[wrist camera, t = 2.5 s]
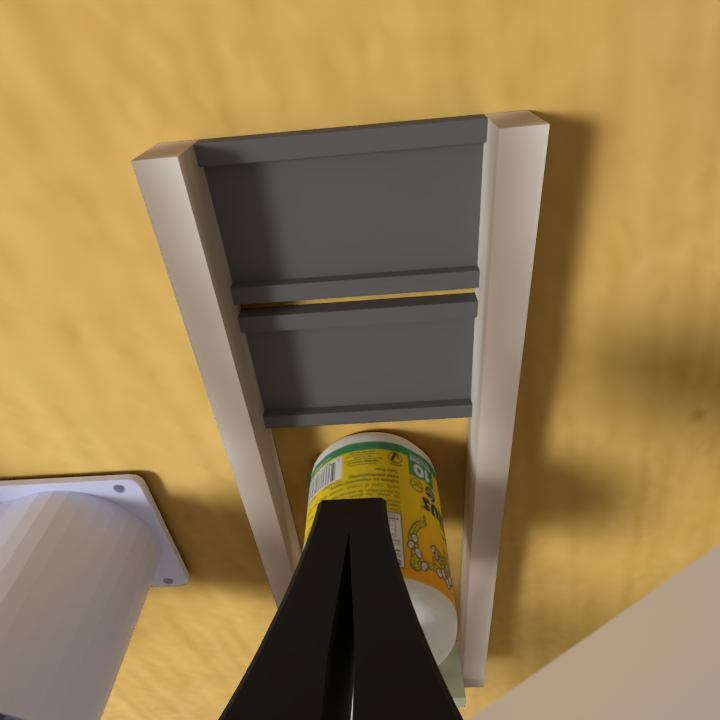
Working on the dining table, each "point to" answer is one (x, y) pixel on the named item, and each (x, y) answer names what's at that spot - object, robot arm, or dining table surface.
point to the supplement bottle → (397, 519)
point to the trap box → (489, 369)
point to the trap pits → (354, 265)
